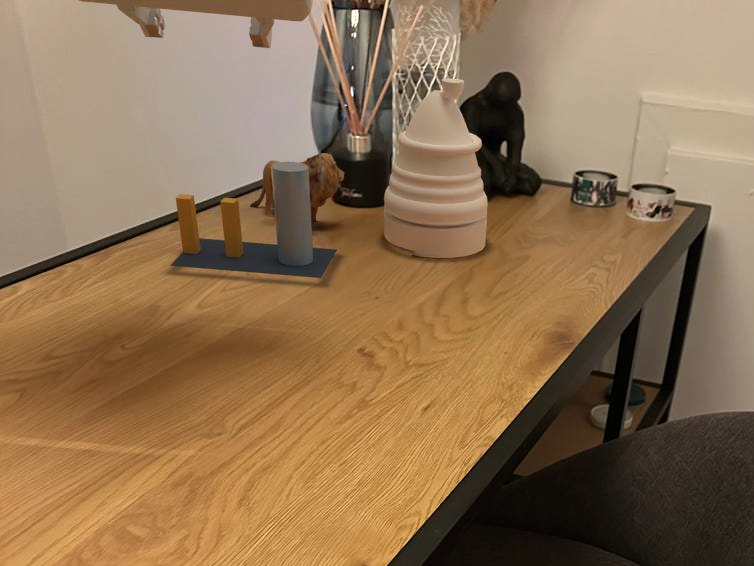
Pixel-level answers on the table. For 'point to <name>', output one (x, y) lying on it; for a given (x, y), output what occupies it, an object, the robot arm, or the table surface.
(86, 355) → the table surface
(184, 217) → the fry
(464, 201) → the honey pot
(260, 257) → the mat
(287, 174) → the grey cylinder
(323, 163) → the lion figurine
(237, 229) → the post
